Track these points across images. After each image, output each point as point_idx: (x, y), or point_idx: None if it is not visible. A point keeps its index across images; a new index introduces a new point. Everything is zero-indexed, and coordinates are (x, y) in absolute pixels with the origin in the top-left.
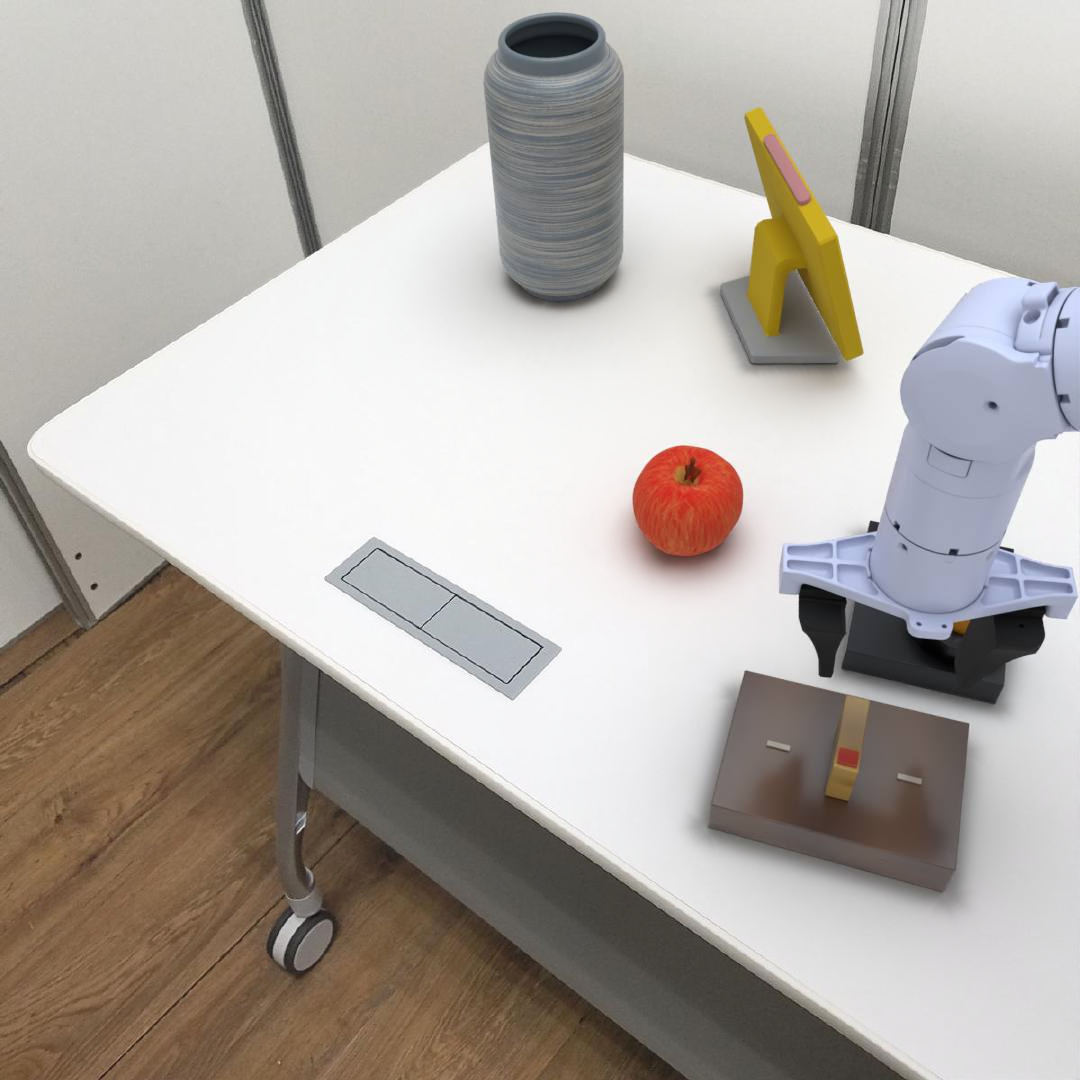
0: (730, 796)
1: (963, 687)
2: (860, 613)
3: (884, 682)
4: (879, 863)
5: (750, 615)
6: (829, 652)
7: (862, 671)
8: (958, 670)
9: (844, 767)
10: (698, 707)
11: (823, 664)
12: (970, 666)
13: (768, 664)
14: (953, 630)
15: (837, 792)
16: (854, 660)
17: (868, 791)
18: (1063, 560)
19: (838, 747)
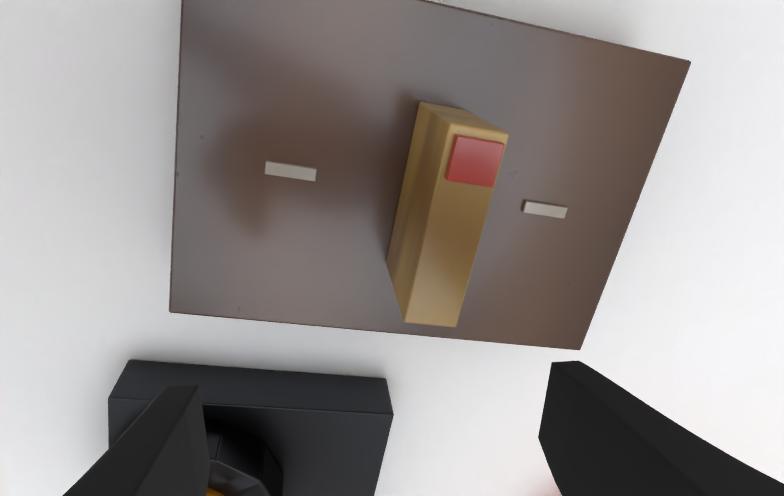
0: (650, 85)
1: (180, 399)
2: (365, 478)
3: (316, 366)
4: None
5: (516, 436)
6: (693, 461)
7: (353, 379)
8: (198, 448)
9: (483, 133)
10: (613, 278)
11: (637, 403)
12: (154, 493)
13: (497, 366)
14: (208, 488)
15: (451, 109)
16: (372, 396)
17: (375, 131)
18: None
19: (491, 188)
